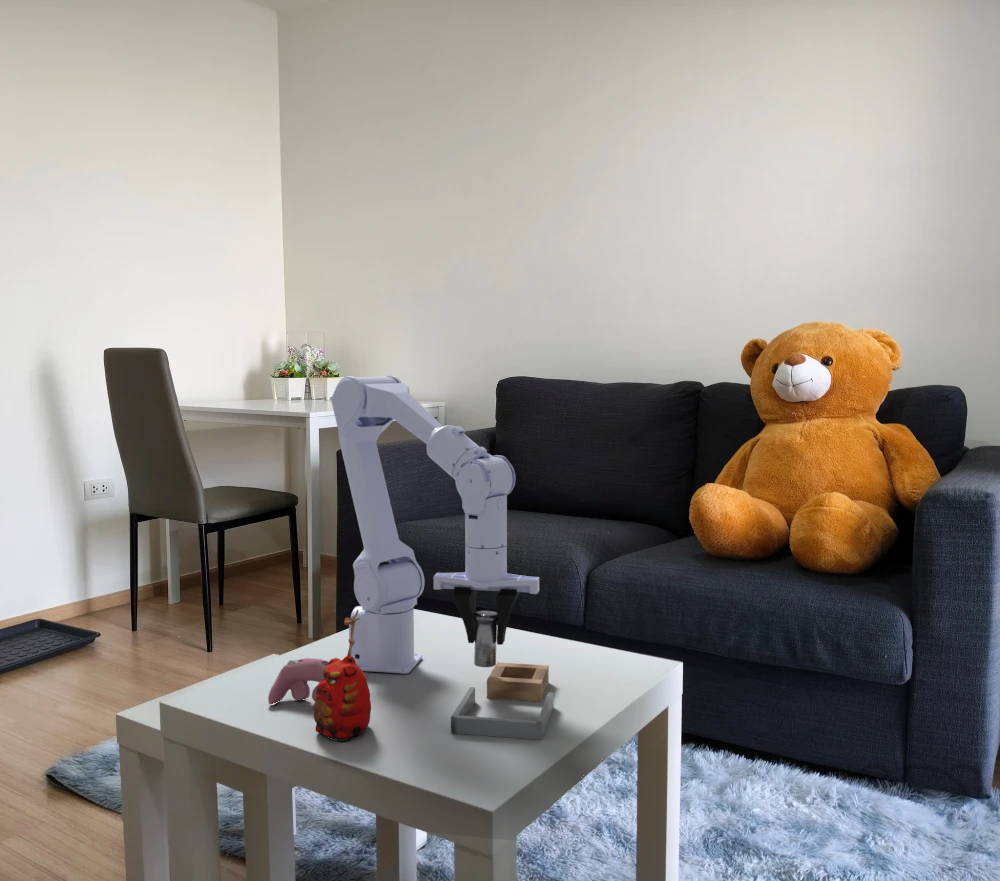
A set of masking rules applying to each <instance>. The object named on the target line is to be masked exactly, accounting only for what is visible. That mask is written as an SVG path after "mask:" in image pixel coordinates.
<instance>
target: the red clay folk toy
mask: <svg viewBox="0 0 1000 881" xmlns="http://www.w3.org/2000/svg"><path fill="white" fill-rule="evenodd" d="M358 611H359V610H358V609H357V611H356V614H355V615H354V616H353V617H352V618H350V617H345V618H344V622H343V623H344V626H349V624H350V625H351V637H350V639H349V638H348V644H349V643H350V646H349V645H348V651H347V654H346V656H344V658H342V659H340V658H338V657H335V658H331V659H330V660H329V661H328V662H329V663H328V665H327V666H326V667H324V670H323V677H322V679H321V681H320V682H318V684H317V685H318V686H317V685H316V686H317V692H316V700H315V701H314V704H313V711H314V712H313V719H314V721H315V724H316V725H315V732H316V733H319V734H323V735H324V737H326V738H327V737H329V738H332V739H337V740H340V741H341V740H346V741H349V740H350V738H351V737H354V736H355V737H356V736H360V735H361V733H362V734H363V733H365V732H366V730H367V728H368V727H369V725H370V720H371V711H372V701H371V691H370V688H369V685H368V678H367V677H366V674H365V673H364V671H362V670H361V668H360V667H359V666H358V665H357V664H356V662H355V659H354V657H352V656H351V650H352V646H353V645H354V643H355V642H354V639H353V633H354V627H355V622H356V621H357V620H359V619H360V618H357V619H355V618H356V616H357V614H358ZM350 619H351V621H350ZM329 738H328V739H329ZM332 739H331V740H332ZM348 739H349V740H348ZM337 740H336V741H337ZM341 742H342V741H341Z"/></svg>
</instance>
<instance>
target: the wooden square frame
mask: <svg viewBox="0 0 1000 881" xmlns="http://www.w3.org/2000/svg"><path fill="white" fill-rule="evenodd" d="M549 667H550V666H549V665H548V664H530V663H529V664H528V663H513V662H512V663H511V662H510V663H509V662H497V661H496V665H495V666H493V669H492V671H491V673H490V674H489V676H488V677H487V679H486V698H487V699H496V700H497V699H498V700H499V699H500V700H511V701H512V700H513V701H530V702H542V699H543V697H544V696H545V693H546V690H547V688H548V685H549V681H550V679H549V677H550V676H549V675H550V674H549V670H550V669H549Z"/></svg>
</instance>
